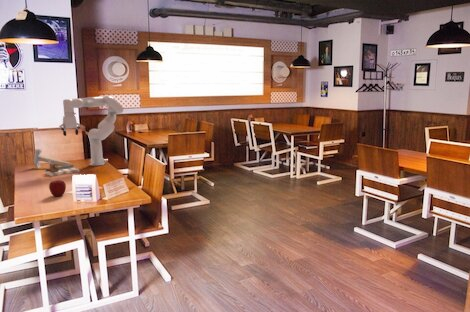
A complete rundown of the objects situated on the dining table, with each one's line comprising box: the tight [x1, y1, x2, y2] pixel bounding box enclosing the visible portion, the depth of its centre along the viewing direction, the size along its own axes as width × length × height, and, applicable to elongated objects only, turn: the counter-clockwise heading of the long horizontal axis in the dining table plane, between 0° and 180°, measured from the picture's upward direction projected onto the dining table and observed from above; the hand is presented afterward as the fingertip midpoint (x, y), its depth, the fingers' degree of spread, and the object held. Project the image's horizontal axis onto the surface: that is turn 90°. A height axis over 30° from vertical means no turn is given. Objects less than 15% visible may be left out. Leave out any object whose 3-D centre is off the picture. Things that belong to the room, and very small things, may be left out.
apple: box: [48, 180, 67, 197], centre depth 242 cm, size 10×10×10 cm
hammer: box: [33, 148, 71, 169], centre depth 330 cm, size 16×5×30 cm
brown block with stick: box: [49, 163, 60, 172], centre depth 304 cm, size 4×10×6 cm, turn 46°
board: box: [44, 167, 80, 177], centre depth 310 cm, size 22×12×2 cm, turn 136°
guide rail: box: [44, 164, 75, 172], centre depth 313 cm, size 22×1×2 cm, turn 136°
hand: (71, 135), depth 320 cm, fingers open, 9 cm apart
